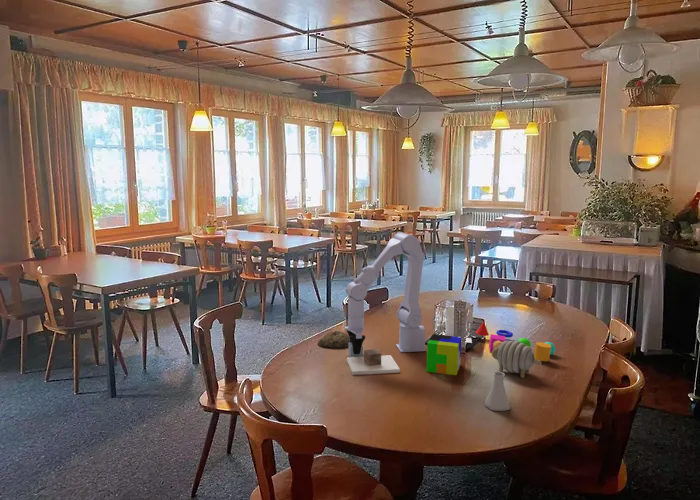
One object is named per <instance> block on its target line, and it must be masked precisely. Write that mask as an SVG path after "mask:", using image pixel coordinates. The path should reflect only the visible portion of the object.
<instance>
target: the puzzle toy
mask: <svg viewBox="0 0 700 500" xmlns="http://www.w3.org/2000/svg"><path fill="white" fill-rule="evenodd" d="M461 337H462V336H453V335H451V336H450V335H444V334H434V333H433V334H432V335H431V336H430V338H429V340H428V342H427V344H426V367H425V368H426V370H425V371H426V372H429V373H438V374H445V375H450V376H457V374H458V372H459V369H460V366H461V356H462V341H461Z"/></svg>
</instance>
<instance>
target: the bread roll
mask: <svg viewBox="0 0 700 500" xmlns="http://www.w3.org/2000/svg"><path fill="white" fill-rule="evenodd" d="M349 343H350V338H349V335H348V333H346V332H344V331H341V330H334V331H333V332H332V331H330V332H328V333H327V334H325V335H324V336H323V337H321V338H320V339H319V340H318V342H317V346H318V347H323V348H332V349H345V348H349Z"/></svg>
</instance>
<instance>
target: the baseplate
mask: <svg viewBox="0 0 700 500" xmlns="http://www.w3.org/2000/svg"><path fill="white" fill-rule="evenodd" d="M346 362H347V365H348V367H349V370H350V372H351V374H352V376H355V375H356V376H358V375H362V376H363V375H375V374H376V375H377V374H381V375H382V374H394V373H397V374H398V373H400V372H401V369H400V367H399V365H398V364H397V363H396V361H395V360H394V358H393V357H392V355H390V354H389V355H387V354H385V355H381V365H374V366H368V365H367V364H366V363H365V362H364V356H363V357H350V356H349V357H346Z"/></svg>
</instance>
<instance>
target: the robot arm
mask: <svg viewBox="0 0 700 500" xmlns="http://www.w3.org/2000/svg"><path fill="white" fill-rule="evenodd" d="M398 255H405V256H406V257H407V258H408V259H407V260H408V261H407V270H406V280H405V285H404V287H405V288H404V297H403V300H402V301H401V302H400V304H399V308H398V310H397V312H396V317H397V319H398V320H399V328H398V329H399V331H398V332H399V336H398V337H399V339H398V340H399V341H398V343H396V344H395V346H396V347H397V349H398V350H399V351H400V353H412V352H415V353H417V352H425V351H426V329H425V326H424V325H421V324H422V321H423V315H422V308H421V306H420V302H419V297H420V290H421V289H420V288H421V281H422V273H423V265H424V252H423V250H422V247H421V240H419V239H418V238H417V236H415V235H413V234H408V233H405V232H402V231H397V232H396V233H395V234H394V235H393V236H392V237H391V238H390V239H389V241H388V242H387V245H386V246H385V248H384V249H383V250H382V252H381V253H380V254H379V255H378V257H376V259H375V261H374V262H373V263H372V264H371V265H366V266H365V267H363V268H361V272H360V273H359V275H358V276H357V277H356V278H354V279H353V281H352V282H349V283H348V284H347V286H346V288H345V293H346V294H347V296H348V298H347V301H348V303H347V326H344V330H345V331H346V332H347V335H348V337H349V338H350V343H352V346H353V352H354V354H360V351H361V347H362V346H363V343H364V341H365V340H366V335H365V334H363V333H364V330H365V325H364V324H365V298H366V297H367V295H368V290H369V288H370V287H371V286H372V285H373V284H374V283H375V282H376V280H378V278H379V277H380V271H381V270H382V269H383V268H384V267H385V266H386V264H388V263H389V261H390V260H391V259H392V258H393V257H395V256H398Z"/></svg>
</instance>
